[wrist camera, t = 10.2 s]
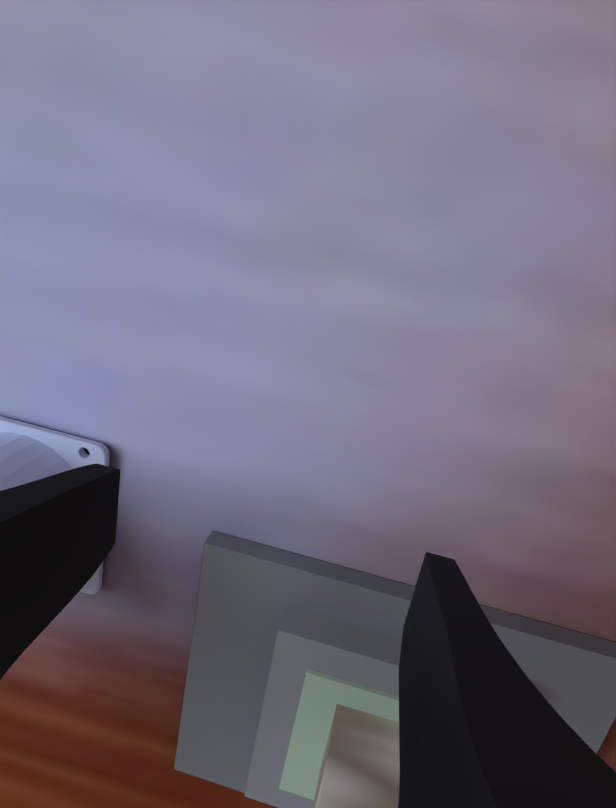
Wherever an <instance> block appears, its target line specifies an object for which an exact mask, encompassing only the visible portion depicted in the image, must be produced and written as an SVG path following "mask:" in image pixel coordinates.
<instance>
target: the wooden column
mask: <svg viewBox="0 0 616 808" xmlns="http://www.w3.org/2000/svg"><path fill="white" fill-rule="evenodd" d="M399 780H400V757H399V722H395V721H392V720H389V719H386V718H382V717H379V716H376V715H372V714H369V713H366V712H363V711H359V710H356V709H353V708H349V707H346V706H343V705H340V704H337V705H336V709H335V713H334V717H333V721H332V724H331V728H330V732H329V736H328V740H327V744H326V748H325V751H324V755H323V759H322V763H321V767H320V771H319V776H318V781H317V786H316V792H315V797H314V802H313V808H398V804H399Z"/></svg>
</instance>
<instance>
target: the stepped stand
mask: <svg viewBox="0 0 616 808" xmlns="http://www.w3.org/2000/svg"><path fill="white" fill-rule="evenodd" d="M414 590H415V587H414V586H411V585H407V584H403V583H400V582H396V581H393V580H389V579H385V578H382V577H378V576H375V575H371V574H367V573H364V572H360V571H357V570H353V569H349V568H346V567H342V566H339V565H335V564H331V563H328V562H324V561H320V560H317V559H313V558H310V557H306V556H302V555H299V554H295V553H292V552H288V551H284V550H281V549H277V548H274V547H270V546H266V545H263V544H259V543H256V542H252V541H248V540H245V539H241V538H238V537H234V536H230V535H227V534H223V533H220V532H216V531H212V533H211V534H210V536H209V537H208V539H207V540H206V542H205V544H204V552H203V559H202V567H201V574H200V581H199V589H198V596H197V603H196V611H195V618H194V626H193V633H192V640H191V648H190V655H189V662H188V670H187V677H186V685H185V692H184V699H183V707H182V714H181V721H180V729H179V736H178V743H177V751H176V758H175V766H174V769H175V770H178V771H181V772H184V773H187V774H190V775H193V776H196V777H199V778H202V779H205V780H208V781H211V782H214V783H217V784H220V785H223V786H226V787H229V788H232V789H235V790H237V791H240V792H243V793H245V795H244V796H245V797H248V798H251V799H254V800H257V801H260V802H263V803H266V804H269V805H272V806H275V807H278V808H313V802H314V797H315V792H316V786H317V781H318V776H319V771H320V767H321V763H322V759H323V755H324V751H325V748H326V744H327V740H328V736H329V732H330V728H331V724H332V721H333V717H334V713H335V709H336V705H337V704H340V705H343V706H346V707H349V708H353V709H356V710H359V711H363V712H366V713H369V714H372V715H376V716H379V717H382V718H386V719H389V720H392V721H395V722H399V662H400V652H401V643H402V635H403V626H404V623H405V620H406V616H407V613H408V610H409V606H410V603H411V600H412V597H413V593H414ZM480 607H481V609H482V610H483V612H484V614H485V615H486V617H487V619H488V620H489V622H490V623H491V625H492V627H493V628H494V630H495V632H496V633H497V635H498V636H499V638H500V639H501V641H502V642H503V644H504V645H505V647H506V648H507V649H508V651H509V652H510V654H511V655H512V657H513V658H514V659H515V661H516V662H517V664H518V665H519V666H520V668H521V669H522V670H523V672H524V673H525V674H526V676H527V677H528V678H529V679H530V681H531V682H532V683H533V684H534V686H535V687H536V688H537V689H538V690H539V692H540V693H541V694H542V695H543V696H544V698H545V699H546V700H547V701H548V703H549V704H550V705H551V706H552V707H553V708H554V710H555V711H556V712H557V713H558V714H559V715H560V716H561V717H562V718H563V720H564V721H565V722H566V723H567V724H568V725H569V726H570V727H571V728H572V729H573V730H574V731H575V732H576V733H577V734H578V735H579V736H580V737H581V738H582V740H583V741H584V742H585V743H586V744H587V745H588V746H589V747H590V748H591V749H592V750H593V751H594V752H595V753H596V754H597V752H598V750H599V749H600V747H601V745H602V743H603V741H604V739H605V737H606V735H607V733H608V731H609V729H610V727H611V725H612V723H613V721H614V719H615V717H616V642H612V641H609V640H605V639H601V638H598V637H594V636H591V635H587V634H583V633H580V632H576V631H573V630H569V629H565V628H562V627H558V626H555V625H551V624H547V623H544V622H540V621H537V620H533V619H529V618H526V617H522V616H519V615H515V614H511V613H508V612H504V611H501V610H497V609H493V608H490V607H486V606H483V605H480Z"/></svg>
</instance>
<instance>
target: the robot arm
mask: <svg viewBox="0 0 616 808" xmlns="http://www.w3.org/2000/svg"><path fill="white" fill-rule="evenodd" d="M84 448H86V449H88V451H89V453H90V455H88V454H86V452H85V451H84ZM109 458H110V454H109V450H108V448H107V447H106V446H105V445H104V444H102V443H100V442H96V441H92V440H89V439H85V438H81V437H77V436H74V435H70V434H66V433H62V432H58V431H55V430H51V429H47V428H43V427H39V426H36V425H32V424H28V423H24V422H20V421H17V420H13V419H9V418H5V417H1V416H0V679H1V678H2V677H3V675H4V674H5V673H6V672H7V670H8V669H9V668H10V667H11V666H12V664H13V663H14V662H15V661H16V660H17V658H18V657H19V656H20V655H21V654H22V653H23V652H24V650H25V649H26V648H27V647H28V646H29V645H30V644H31V643H32V642H33V641H34V640H35V639H36V637H37V636H38V635H39V634H40V633H41V632H42V631H43V630H44V629H45V628H46V627H47V626H48V625H49V623H50V622H51V621H52V620H53V619H54V618H55V617H56V616H57V615H58V614H59V613H60V612H61V611H62V609H63V608H64V607H65V606H66V605H67V604H68V603H69V602H70V601H71V600H72V599H73V597H74V596H75V595H76V594H77V593H78V592H82V593H85V594H89V595H93V594H96V593H97V592H98V591H99V590H100V588H101V586H102V574H103V561H104V559H105V558H106V556H107V555H108V553H109V552H110V550H111V549H112V547H113V546H114V544H115V538H116V523H117V509H118V494H119V479H120V470H119V469H116V468H112V467H109ZM399 757H400V780H399V804H398V808H616V772H615V771H614V770H613V769H612V768H611V767H610V766H609V765H608V764H606V763H605V762H604V761H603V760H602V759H601V758H600V757H599V756H598V755H597V754H596V753H595V752H594V751H593V750H592V749H591V748H590V747H589V746H588V745H587V744H586V743H585V742H584V741H583V740H582V738H581V737H580V736H579V735H578V734H577V733H576V732H575V731H574V730H573V729H572V728H571V727H570V726H569V725H568V724H567V723H566V722H565V721H564V720H563V718H562V717H561V716H560V715H559V714H558V713H557V712H556V711H555V710H554V708H553V707H552V706H551V705H550V704H549V703H548V701H547V700H546V699H545V698H544V696H543V695H542V694H541V693H540V692H539V690H538V689H537V688H536V687H535V686H534V684H533V683H532V682H531V681H530V679H529V678H528V677H527V676H526V674H525V673H524V672H523V670H522V669H521V668H520V666H519V665H518V664H517V662H516V661H515V659H514V658H513V657H512V655H511V654H510V652H509V651H508V649H507V648H506V647H505V645H504V644H503V642H502V641H501V639H500V638H499V636H498V635H497V633H496V632H495V630H494V628H493V627H492V625H491V623H490V622H489V620H488V619H487V617H486V615H485V614H484V612H483V610H482V609H481V607H480V605H479V603H478V602H477V600H476V598H475V596H474V595H473V593H472V591H471V589H470V587H469V585H468V584H467V582H466V580H465V578H464V576H463V574H462V573H461V571H460V569H459V567H458V565H457V564H456V562H455V560H454V559H450V558H446V557H443V556H439V555H435V554H432V553H428V552H426V554H425V557H424V560H423V564H422V567H421V570H420V574H419V577H418V580H417V583H416V587H415V590H414V593H413V597H412V600H411V603H410V606H409V610H408V613H407V616H406V620H405V623H404V626H403V635H402V643H401V652H400V662H399Z"/></svg>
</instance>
